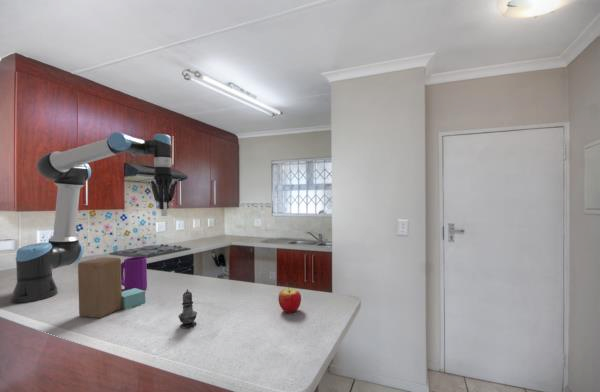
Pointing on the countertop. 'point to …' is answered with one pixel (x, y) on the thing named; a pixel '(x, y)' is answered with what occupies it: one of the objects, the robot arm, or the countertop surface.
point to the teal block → (132, 298)
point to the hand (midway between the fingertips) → (164, 215)
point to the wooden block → (99, 286)
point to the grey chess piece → (187, 312)
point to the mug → (134, 273)
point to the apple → (289, 299)
